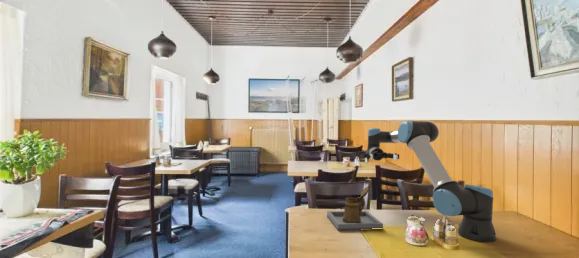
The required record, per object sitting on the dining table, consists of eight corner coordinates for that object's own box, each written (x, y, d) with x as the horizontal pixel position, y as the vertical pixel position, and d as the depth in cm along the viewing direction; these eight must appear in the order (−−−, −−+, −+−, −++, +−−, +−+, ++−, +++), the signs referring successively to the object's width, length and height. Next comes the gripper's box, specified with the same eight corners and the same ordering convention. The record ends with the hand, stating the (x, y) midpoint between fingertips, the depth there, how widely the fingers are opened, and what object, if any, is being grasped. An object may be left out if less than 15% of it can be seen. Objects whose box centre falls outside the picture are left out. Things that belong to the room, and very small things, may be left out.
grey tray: (382, 230, 155) (382, 223, 155) (337, 230, 153) (338, 224, 153) (366, 216, 177) (366, 210, 177) (327, 216, 175) (327, 211, 175)
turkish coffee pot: (371, 223, 161) (372, 187, 161) (344, 223, 160) (345, 187, 160) (366, 218, 170) (367, 184, 170) (340, 218, 169) (341, 183, 169)
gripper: (396, 160, 201) (407, 165, 180) (356, 159, 202) (361, 163, 181) (397, 148, 201) (407, 151, 180) (356, 147, 202) (362, 150, 181)
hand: (384, 157), depth 180 cm, fingers open, 13 cm apart
